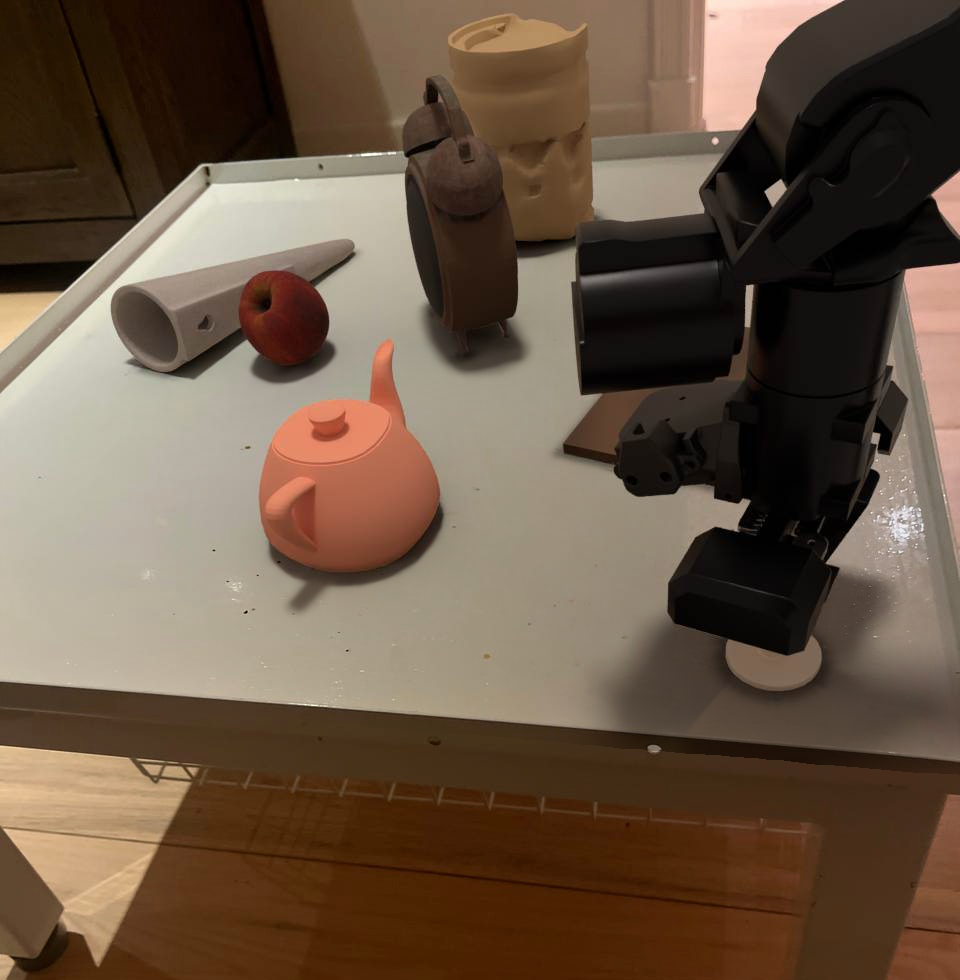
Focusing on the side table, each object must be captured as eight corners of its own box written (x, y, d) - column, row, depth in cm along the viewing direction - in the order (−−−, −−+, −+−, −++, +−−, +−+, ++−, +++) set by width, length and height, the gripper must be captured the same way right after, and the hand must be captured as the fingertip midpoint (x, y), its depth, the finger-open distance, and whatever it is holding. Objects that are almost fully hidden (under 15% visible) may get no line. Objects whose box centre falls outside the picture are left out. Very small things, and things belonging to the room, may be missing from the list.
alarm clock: (413, 305, 90) (370, 67, 76) (487, 287, 91) (458, 48, 77) (450, 379, 80) (409, 120, 66) (533, 358, 81) (510, 98, 67)
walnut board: (831, 348, 76) (833, 339, 76) (749, 493, 65) (750, 483, 64) (665, 323, 82) (665, 314, 82) (563, 452, 71) (562, 443, 70)
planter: (287, 199, 101) (98, 280, 84) (354, 205, 97) (169, 291, 80) (302, 274, 105) (125, 364, 89) (365, 283, 102) (194, 379, 85)
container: (523, 198, 105) (507, 6, 92) (618, 218, 98) (615, 14, 85) (446, 244, 99) (418, 45, 86) (542, 268, 92) (527, 58, 79)
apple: (236, 367, 86) (207, 281, 80) (299, 329, 90) (276, 244, 84) (290, 389, 82) (264, 300, 76) (354, 348, 86) (334, 260, 80)
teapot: (224, 587, 65) (175, 472, 58) (344, 436, 76) (315, 325, 69) (384, 619, 61) (352, 498, 54) (486, 454, 72) (470, 338, 65)
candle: (718, 683, 54) (731, 540, 46) (732, 619, 57) (747, 476, 50) (815, 699, 52) (845, 554, 45) (825, 632, 55) (853, 487, 48)
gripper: (710, 248, 50) (697, 490, 61) (551, 445, 39) (570, 694, 50) (938, 274, 45) (879, 530, 56) (827, 504, 35) (782, 764, 46)
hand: (778, 619), depth 52 cm, fingers closed on candle, 4 cm apart
